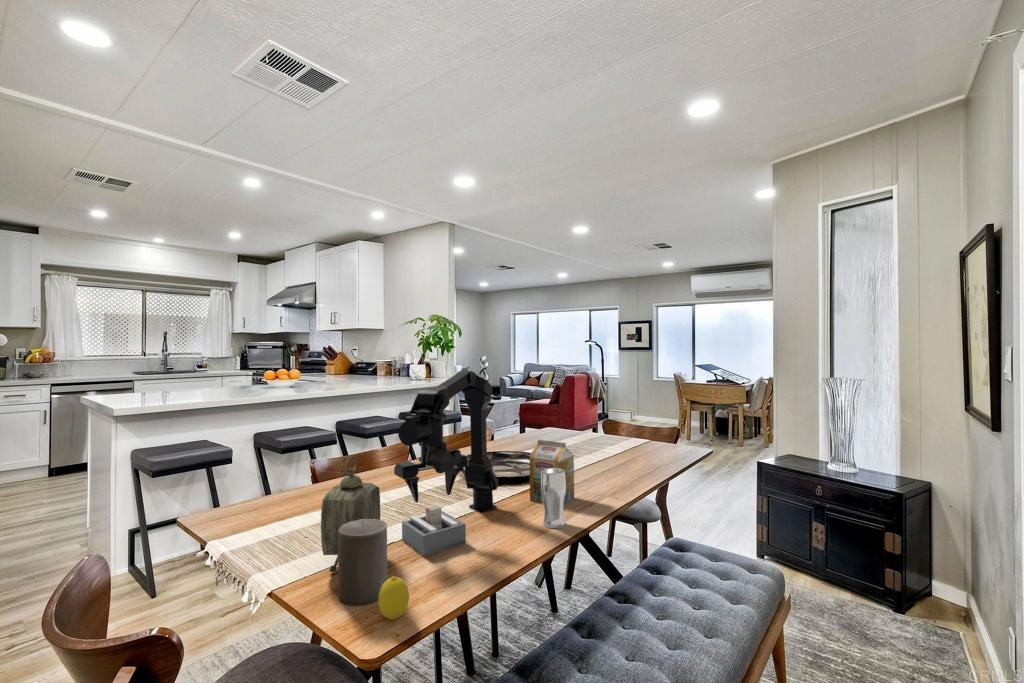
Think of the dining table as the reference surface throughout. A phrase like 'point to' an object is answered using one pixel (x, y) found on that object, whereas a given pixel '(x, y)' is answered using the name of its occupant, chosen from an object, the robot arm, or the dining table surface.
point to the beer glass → (553, 496)
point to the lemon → (393, 598)
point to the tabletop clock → (346, 508)
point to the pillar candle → (362, 561)
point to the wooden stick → (434, 516)
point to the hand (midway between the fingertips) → (432, 498)
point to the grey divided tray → (433, 534)
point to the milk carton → (550, 457)
